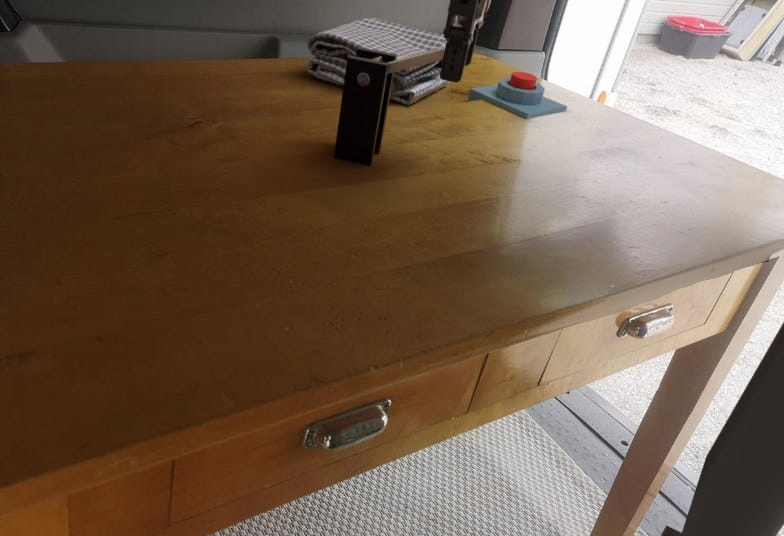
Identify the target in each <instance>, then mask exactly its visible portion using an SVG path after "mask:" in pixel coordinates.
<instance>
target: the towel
mask: <svg viewBox="0 0 784 536" xmlns="http://www.w3.org/2000/svg"><path fill="white" fill-rule="evenodd" d="M446 42H447V41H445V38H444V34H443V33H441V34H440V33H436V32H430V31H425V30H423V29H417V28H414V27H410V26H406V25H402V24H399V23H395V22H391V21H387V20H383V19H380V18H375V17H364V18H361V19H358V20H353V21H351V22H349V23H343V24H341V25H339V26H337V27H335V28H330V29H326V30H323V31H319V32H318V33H315V34H313V36H311V37H310V38H309V40H308V42H306V45H307V48H308V50H309V52H310V54H311V55H312V56H314V57H311V58H310V59H309V60H308V62H307V65H306V68H305V71H306V72H307V73H309V74H310V75H312V76H313V77H315V78H316V79H318V80H321V81H324V82H329V83H332V84H335V85H336V86H337V85H338V86H342V87H343V86H344V79H345V72H346V65H347V58H348V57H349V56H355V57H356V53H357V49H358V48H359V47H362V48H367V49H372V50H377V51H382V52H387V53H392V54H397V59H396V60H398V59H402V58H405V57H409V56H413V55H417V54H421V53H424V52H428V51H432V50H436V49H439V48H443V47H446ZM442 61H443V60H439V61H435V62H431V63H427V64H423V65H420V66H416V67H412V68H408V69H404V70H400V71H396V72H394V76H393V82H392V88H391V93H390V99H389V100H390V101H394V102H397V103H400V104H403V105H405V106H406V105H407V106H409V105H412V104H414V103H416V102H417V101H419V100H420V99H422V98H424V97H427V96H429V95H431V93H432V94H433V93H435V92H437V91H439V90H440V89H442V88H444V87H446V86H447V85H448V84H449V83H450V81H446V80H442V79H441V78H440V71H441V66H442Z"/></svg>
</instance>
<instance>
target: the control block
mask: <svg viewBox="0 0 784 536" xmlns="http://www.w3.org/2000/svg"><path fill="white" fill-rule="evenodd" d="M510 79H511V77H504V78H500V80H499V81H498V83H497V84H491V85H485V86H478V87H472V88H470V89H469V93H468V98H467V103H469V102H473V101H481V100H483V101H485V102H487V103H489V104H492V105H494V106H496V107H499V108H500V109H503V110H505V111H507V112H510V113H512V114H513V115H516V116H518V117H521V118H523V119H525V120H529V119H534V118H535V119H536V118H539V117H544V116H549V115H555V114H559V113H564V112H567V109H568V105H565V104H563V103H560V102H559V101H556V100H553V99H551V98H548V97H546V96H545V95H544V94H545V90H546V88H545V87H544V86H543V85H542V84H540V83H537V82H536V84H535V87H534V90H523V89H518V88H515V87H512V86H510V85H509V83H510Z"/></svg>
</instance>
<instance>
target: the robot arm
mask: <svg viewBox="0 0 784 536" xmlns="http://www.w3.org/2000/svg"><path fill="white" fill-rule="evenodd" d="M491 2H492V0H449V3H448V6H447V18H446V22H445V27H444V28H443V31H442V35H444V38H445V41H447V42H446V47H445V52H444V57H443V61H442V66H441V71H440V78H441V79H442V80H446V81H449V82H452V83H459V82H460V81H461V80H462V78H463V75H464V70H465V67H467V66H470V65H471V63H472V60H473V56H474V53H475V52H474V51H475V47H476V43H477V38H478V34H479V29H481V27H482V26H483V24H484V19H485V17H486V16H487V12H488V11H489V8H490V5H491ZM456 23H457V25H458V26H455V25H456ZM470 43H471V44H470ZM469 45H470V47H469ZM468 48H469V49H468Z"/></svg>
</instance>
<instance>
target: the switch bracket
mask: <svg viewBox="0 0 784 536" xmlns="http://www.w3.org/2000/svg"><path fill="white" fill-rule="evenodd" d="M380 56H382V60H383V62H380V61H375V60H370V59H373V58H376V57H380ZM396 59H397V54H392V53H387V52H382V51H377V50H372V49H367V48H362V47H359V48H358V49H357V53H356V57H355V56H349V57H348V58H347V65H346V72H345V79H344V86H343V85H342V87H343V88H342V93H341V102H340V107H339V117H338V124H337V130H336V138H335V144H334V150H333V151H334V152H333V159H337V160H340V161H345V162H349V163H353V164H358V165H363V166H366V167H371V166H372V165H373V162H374V155H379V154H380V153H381V150H382V143H383V139H384V133H385V127H386V121H387V117H388V110H389V105H390V100H391V99H390V93H391V88H392V82H393V76H394V72H393V73H389V74H387V73H388V67H389V63H387V62H390V61H394V60H396Z"/></svg>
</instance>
